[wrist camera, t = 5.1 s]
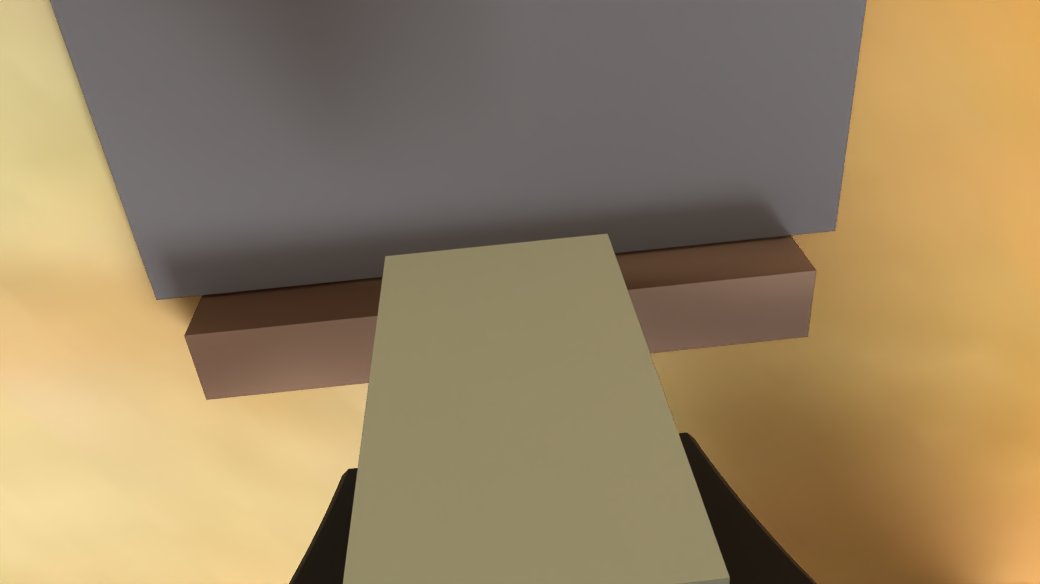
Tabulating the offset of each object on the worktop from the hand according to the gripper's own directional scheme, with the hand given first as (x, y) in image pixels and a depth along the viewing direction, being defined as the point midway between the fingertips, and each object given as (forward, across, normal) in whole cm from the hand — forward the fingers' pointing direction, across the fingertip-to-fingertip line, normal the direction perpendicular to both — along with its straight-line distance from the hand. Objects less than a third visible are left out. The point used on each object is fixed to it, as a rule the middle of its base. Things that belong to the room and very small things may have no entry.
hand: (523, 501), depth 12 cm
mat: (+9, 0, -4) cm, 10 cm away
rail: (+9, 0, +2) cm, 9 cm away
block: (+3, 0, 0) cm, 3 cm away
